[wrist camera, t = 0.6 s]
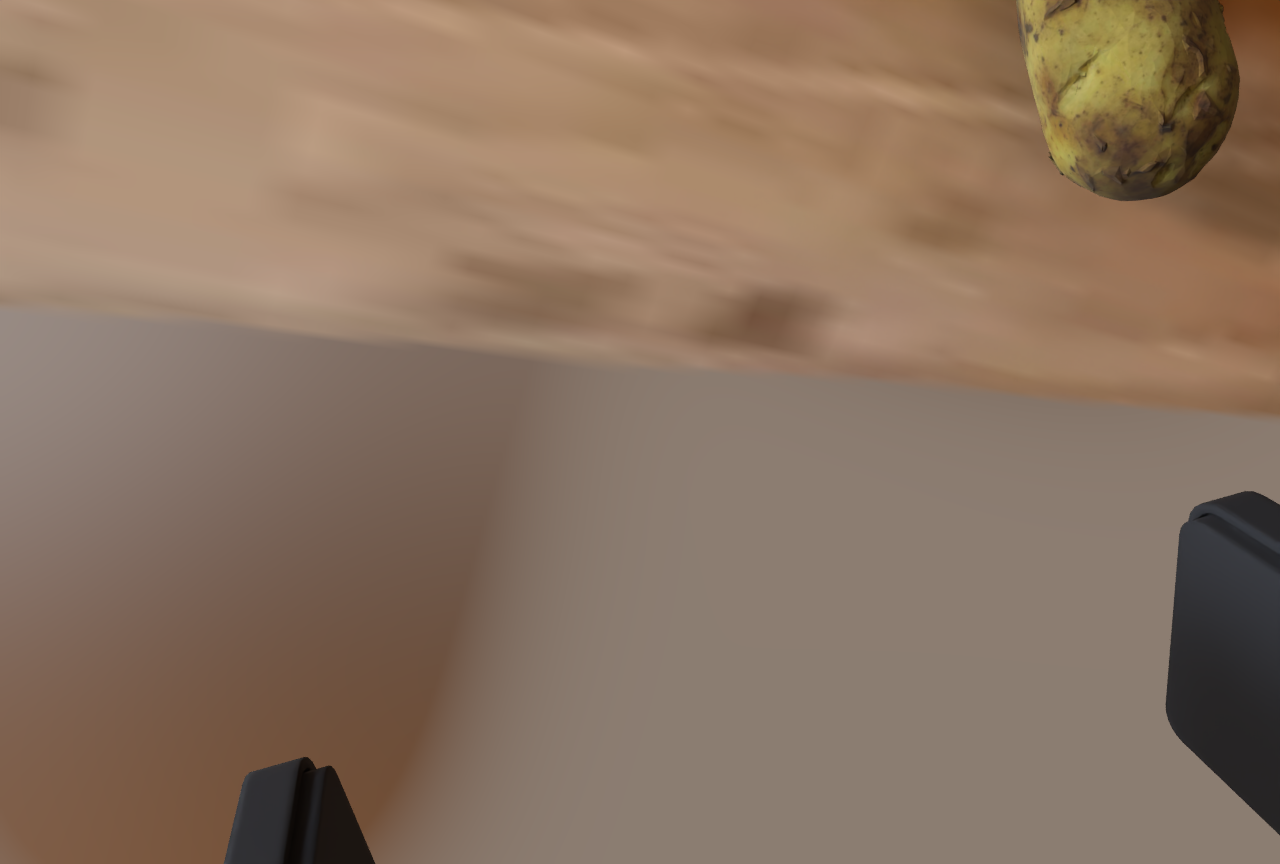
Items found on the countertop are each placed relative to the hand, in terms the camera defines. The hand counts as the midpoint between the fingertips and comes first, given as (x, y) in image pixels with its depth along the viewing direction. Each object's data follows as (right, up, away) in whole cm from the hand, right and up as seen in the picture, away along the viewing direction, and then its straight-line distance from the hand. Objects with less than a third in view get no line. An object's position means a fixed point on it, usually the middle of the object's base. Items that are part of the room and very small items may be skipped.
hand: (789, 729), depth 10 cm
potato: (+14, +20, +27) cm, 36 cm away
